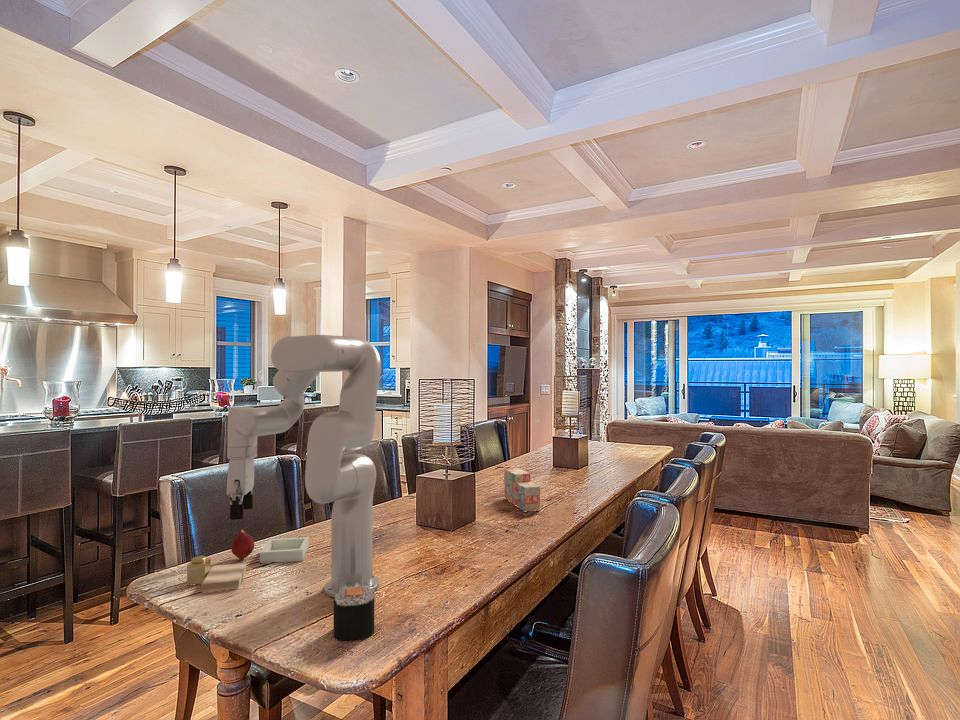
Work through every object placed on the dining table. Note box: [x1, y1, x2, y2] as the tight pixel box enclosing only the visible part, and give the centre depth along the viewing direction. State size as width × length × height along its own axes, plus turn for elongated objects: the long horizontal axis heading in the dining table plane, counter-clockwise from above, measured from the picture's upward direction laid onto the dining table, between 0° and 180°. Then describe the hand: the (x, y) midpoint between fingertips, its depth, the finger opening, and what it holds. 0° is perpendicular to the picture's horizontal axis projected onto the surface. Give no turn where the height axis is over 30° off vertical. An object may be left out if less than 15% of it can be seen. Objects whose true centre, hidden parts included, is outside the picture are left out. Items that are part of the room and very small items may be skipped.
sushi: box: [333, 584, 376, 643], centre depth 103 cm, size 8×8×8 cm
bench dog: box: [186, 555, 211, 586], centre depth 128 cm, size 4×4×6 cm
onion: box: [230, 529, 255, 560], centre depth 143 cm, size 6×6×8 cm
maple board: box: [201, 562, 248, 593], centre depth 128 cm, size 12×8×2 cm, turn 16°
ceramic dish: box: [259, 536, 310, 564], centre depth 146 cm, size 11×11×3 cm
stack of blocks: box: [503, 467, 541, 511], centre depth 197 cm, size 21×6×12 cm, turn 17°
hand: (241, 513), depth 143 cm, fingers open, 9 cm apart
